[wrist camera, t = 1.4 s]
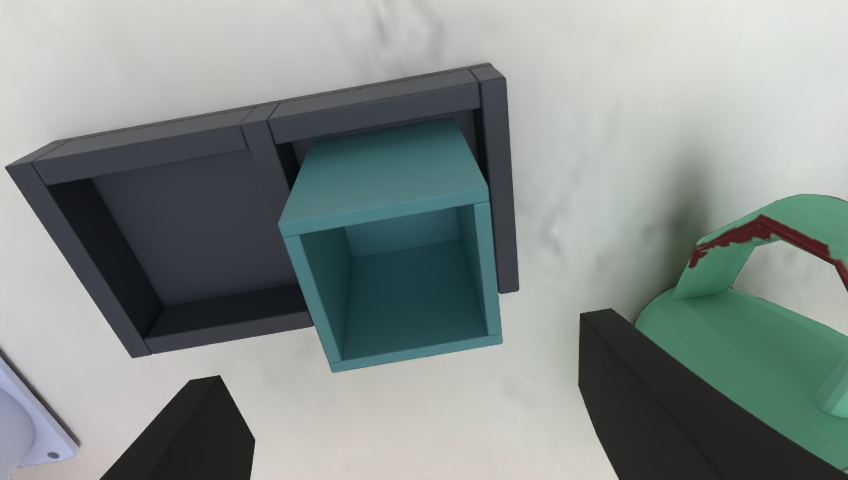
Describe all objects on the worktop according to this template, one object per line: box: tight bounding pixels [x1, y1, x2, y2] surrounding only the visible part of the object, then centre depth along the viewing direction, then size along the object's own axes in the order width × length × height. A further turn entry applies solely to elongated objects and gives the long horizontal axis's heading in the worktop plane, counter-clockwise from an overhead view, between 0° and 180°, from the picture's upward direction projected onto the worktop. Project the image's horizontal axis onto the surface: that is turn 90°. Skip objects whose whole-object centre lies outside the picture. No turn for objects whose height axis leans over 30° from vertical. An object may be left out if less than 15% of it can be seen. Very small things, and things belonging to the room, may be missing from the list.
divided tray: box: [5, 63, 519, 358], centre depth 16 cm, size 15×8×2 cm, turn 99°
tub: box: [278, 117, 503, 373], centre depth 15 cm, size 5×5×6 cm
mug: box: [634, 194, 848, 474], centre depth 17 cm, size 15×10×10 cm
